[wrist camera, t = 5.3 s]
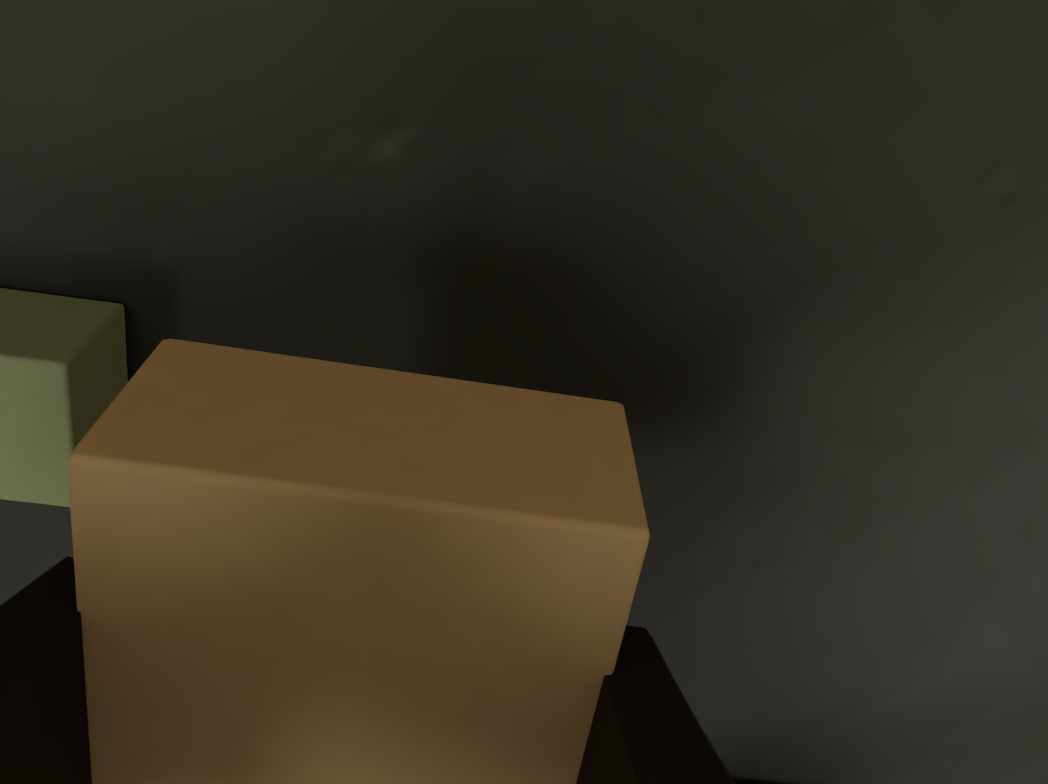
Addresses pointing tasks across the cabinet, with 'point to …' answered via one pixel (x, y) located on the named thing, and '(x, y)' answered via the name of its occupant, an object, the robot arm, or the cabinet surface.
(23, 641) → the robot arm
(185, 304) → the cabinet surface
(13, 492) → the green pad
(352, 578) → the beige block
